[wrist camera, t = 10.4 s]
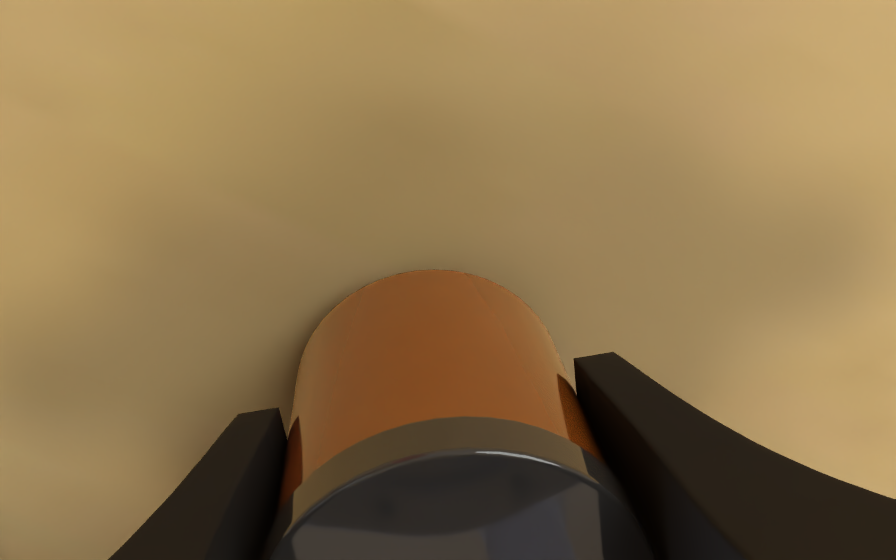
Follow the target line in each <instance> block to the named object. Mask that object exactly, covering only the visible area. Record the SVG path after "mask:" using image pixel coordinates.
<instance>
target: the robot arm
mask: <svg viewBox="0 0 896 560" xmlns="http://www.w3.org/2000/svg"><path fill="white" fill-rule="evenodd" d="M574 369H575V381H576V392H577V398H578V400H579V402H580V405H581V407H582V409H583V411H584V414H585V416H586V418H587V420H588V423H589V425H590V427H591V429H592V432H593V434H594V436H595V439H596V441H597V443H598V445H599V448H600V450H601V452H602V454H603V457H604V459H605V461H606V464H607V466H608V468H609V470H610V471H611V472H612V473H613V474H614V475H615V476H616V478H617V479H618V480H619V481H620V482H621V484H622V485H623V487H624V488H625V490H626V491H627V493H628V494H629V496H630V497H631V499H632V501H633V503H634V506H635V508H636V510H637V512H638V514H639V517H640V519H641V521H642V523H643V525H644V527H645V530H646V532H647V534H648V536H649V539H650V541H651V543H652V545H653V548H654V550H655V554H656V558H657V560H896V499H892V498H889V497H886V496H883V495H880V494H877V493H874V492H872V491H869V490H866V489H863V488H861V487H858V486H855V485H852V484H849V483H847V482H844V481H841V480H838V479H836V478H833V477H831V476H828V475H826V474H823V473H821V472H818V471H816V470H813V469H811V468H809V467H806V466H804V465H802V464H800V463H798V462H795V461H793V460H791V459H789V458H787V457H784V456H782V455H780V454H778V453H776V452H773V451H771V450H769V449H767V448H765V447H763V446H761V445H759V444H757V443H755V442H753V441H751V440H750V439H748V438H746V437H744V436H742V435H741V434H739V433H737V432H735V431H733V430H732V429H730V428H728V427H726V426H724V425H723V424H721V423H719V422H717V421H716V420H714V419H712V418H711V417H709V416H707V415H706V414H704V413H702V412H701V411H699V410H698V409H696V408H694V407H693V406H691V405H690V404H688V403H687V402H685V401H684V400H682V399H680V398H679V397H677V396H676V395H674V394H673V393H671V392H670V391H668V390H667V389H666V388H664V387H663V386H661V385H660V384H658V383H657V382H655V381H654V380H653V379H651V378H650V377H648V376H647V375H645V374H644V373H643V372H641V371H640V370H638V369H637V368H636V367H634V366H633V365H631V364H630V363H629V362H627V361H626V360H624V359H623V358H621V357H620V356H619V355H617V354H616V353H614V352H610V353H604V354H598V355H592V356H586V357H580V358H574ZM286 447H287V437H286V433H285V430H284V426H283V422H282V418H281V414H280V410H279V407H278V408H272V409H266V410H260V411H254V412H248V413H242V414H238V415H237V416H236V418H235V419H234V420H233V421H232V422H231V423H230V424H229V426H228V427H227V428H226V429H225V430H224V432H223V433H222V434H221V435H220V437H219V438H218V439H217V440H216V441H215V443H214V444H213V445H212V446H211V448H210V449H209V450H208V451H207V453H206V454H205V455H204V456H203V457H202V459H201V460H200V461H199V462H198V463H197V465H196V466H195V467H194V468H193V469H192V470H191V472H190V473H189V474H188V475H187V476H186V478H185V479H184V480H183V481H182V482H181V483H180V485H179V486H178V487H177V488H176V489H175V491H174V492H173V493H172V494H171V495H170V496H169V497H168V498H167V499H166V500H165V502H164V503H163V504H162V505H161V506H160V507H159V508H158V509H157V510H156V511H155V512H154V513H153V514H152V515H151V516H150V517H149V519H148V520H147V521H146V522H145V523H144V524H143V525H142V526H141V527H140V528H139V529H138V530H137V531H136V532H135V533H134V534H133V535H132V537H131V538H130V539H129V540H128V541H127V542H126V543H125V544H124V545H123V546H122V547H121V548H120V549H119V550H118V551H116V552H115V553H114V554H113V555H112V556H111V557H110V558H109V559H108V560H261V555H262V550H263V546H264V544H265V541H266V538H267V536H268V533H269V530H270V528H271V526H272V524H273V522H274V520H275V519H276V512H277V505H278V499H279V492H280V486H281V479H282V473H283V466H284V460H285V453H286Z"/></svg>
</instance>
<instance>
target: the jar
mask: <svg viewBox="0 0 896 560" xmlns="http://www.w3.org/2000/svg"><path fill="white" fill-rule="evenodd" d="M261 560H657V558H656V554H655V550H654V548H653V545H652V543H651V541H650V539H649V536H648V534H647V532H646V530H645V527H644V525H643V523H642V521H641V519H640V517H639V514H638V512H637V510H636V508H635V506H634V503H633V501H632V499H631V497H630V496H629V494H628V493H627V491H626V490H625V488H624V487H623V485H622V484H621V482H620V481H619V480H618V479H617V478H616V476H615V475H614V474H613V473H612V472H611V471H610V470H609V468H608V466H607V464H606V461H605V459H604V457H603V454H602V452H601V450H600V448H599V445H598V443H597V441H596V439H595V436H594V434H593V432H592V429H591V427H590V425H589V423H588V420H587V418H586V416H585V414H584V411H583V409H582V407H581V405H580V402H579V400H578V398H577V395H576V393H575V391H574V389H573V386H572V384H571V382H570V380H569V377H568V375H567V373H566V371H565V368H564V366H563V364H562V361H561V359H560V357H559V355H558V352H557V350H556V348H555V346H554V343H553V341H552V339H551V337H550V334H549V332H548V331H547V329H546V327H545V326H544V324H543V323H542V321H541V320H540V318H539V317H538V316H537V315H536V314H535V312H534V311H533V310H532V309H531V308H530V307H529V306H528V305H527V304H526V303H525V302H523V301H522V300H521V299H520V298H519V297H518V296H516V295H515V294H513V293H512V292H510V291H509V290H507V289H505V288H504V287H502V286H500V285H498V284H496V283H494V282H491V281H489V280H487V279H484V278H481V277H478V276H475V275H472V274H467V273H462V272H456V271H448V270H420V271H412V272H406V273H401V274H396V275H393V276H390V277H387V278H384V279H380V280H378V281H376V282H374V283H371V284H369V285H367V286H365V287H363V288H361V289H360V290H358V291H356V292H355V293H353V294H351V295H350V296H348V297H347V298H346V299H344V300H343V301H342V302H341V303H339V304H338V305H337V306H336V307H334V308H333V309H332V310H331V312H330V313H329V314H328V315H327V316H326V317H325V318H324V319H323V320H322V321H321V323H320V324H319V325H318V327H317V328H316V330H315V331H314V332H313V334H312V336H311V338H310V340H309V341H308V343H307V345H306V347H305V350H304V353H303V355H302V358H301V361H300V365H299V370H298V375H297V381H296V388H295V394H294V401H293V407H292V414H291V420H290V427H289V434H288V440H287V447H286V453H285V460H284V466H283V473H282V479H281V486H280V492H279V499H278V505H277V512H276V519H275V520H274V522H273V524H272V526H271V528H270V530H269V533H268V536H267V538H266V541H265V544H264V546H263V550H262V555H261Z"/></svg>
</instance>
